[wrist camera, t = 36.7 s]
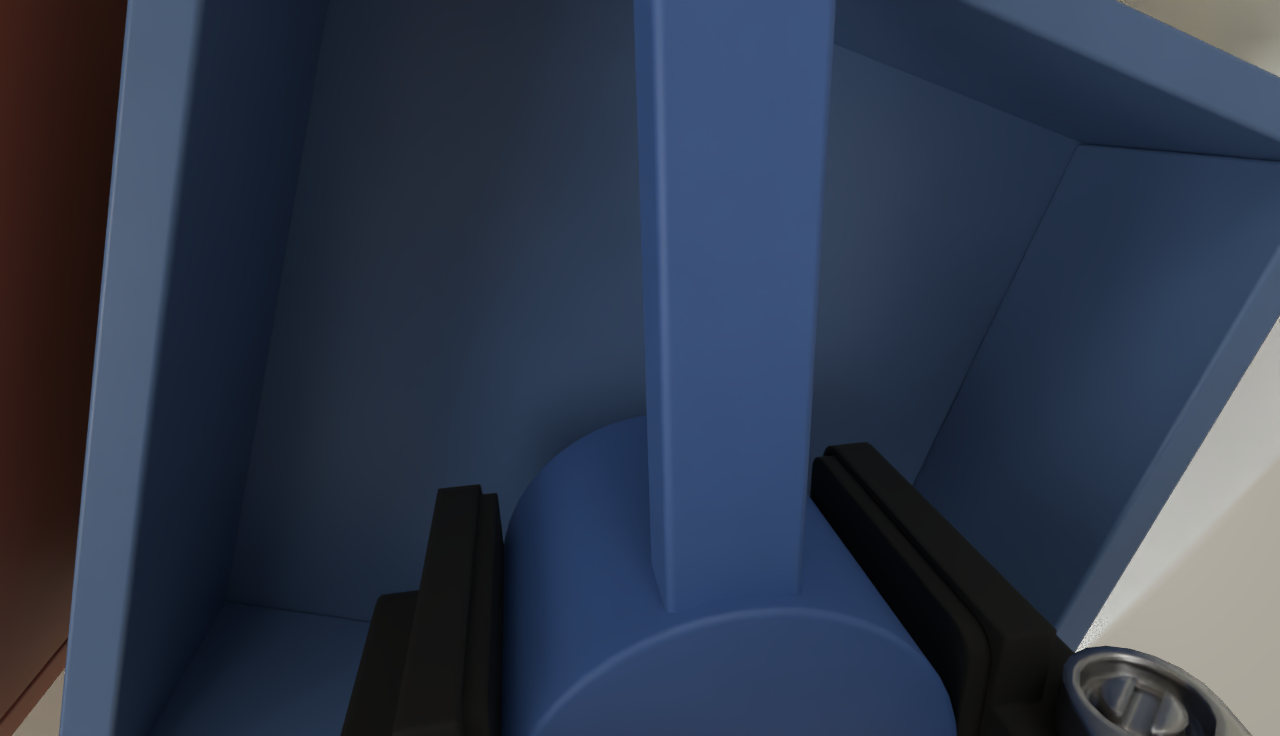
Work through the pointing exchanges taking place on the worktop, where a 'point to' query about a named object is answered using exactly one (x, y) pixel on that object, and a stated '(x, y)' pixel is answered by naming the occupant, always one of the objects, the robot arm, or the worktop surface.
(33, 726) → the worktop surface
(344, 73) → the blue bin
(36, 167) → the red bin
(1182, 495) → the worktop surface
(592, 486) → the blue scoop
